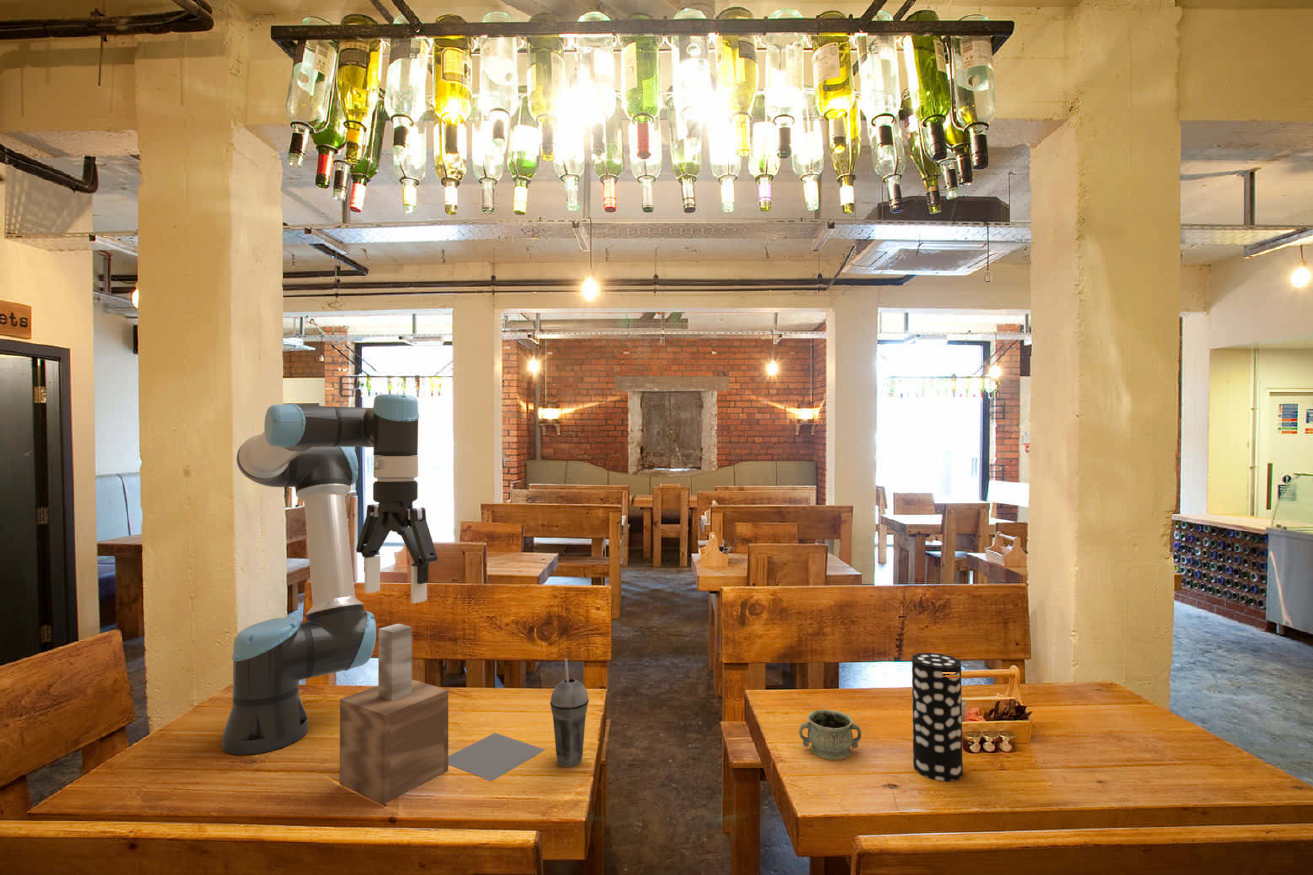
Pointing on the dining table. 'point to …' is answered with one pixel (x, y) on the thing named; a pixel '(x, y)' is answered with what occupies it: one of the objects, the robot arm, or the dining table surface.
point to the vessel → (830, 734)
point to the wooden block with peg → (393, 726)
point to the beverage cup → (569, 719)
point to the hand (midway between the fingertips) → (394, 596)
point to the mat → (493, 756)
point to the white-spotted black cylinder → (937, 716)
